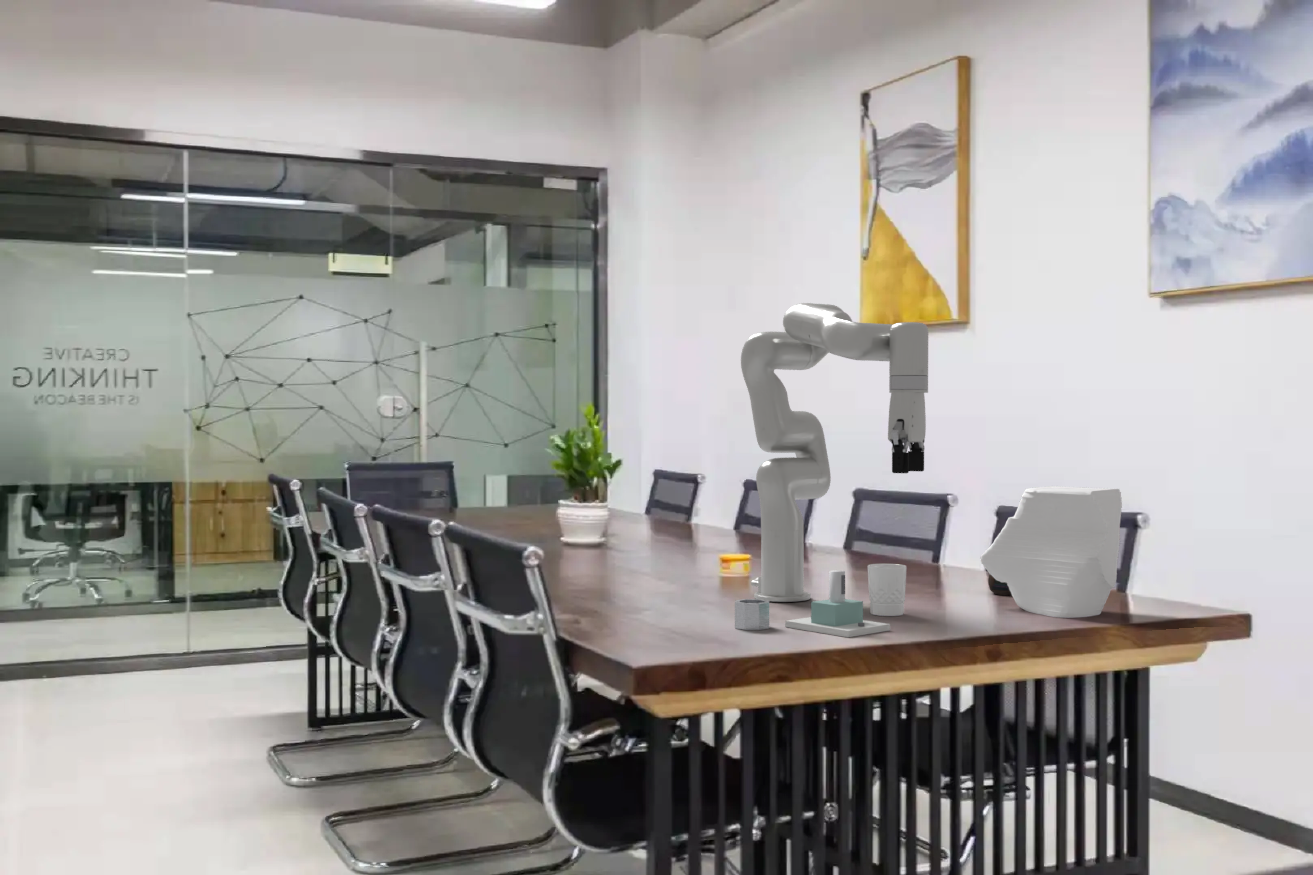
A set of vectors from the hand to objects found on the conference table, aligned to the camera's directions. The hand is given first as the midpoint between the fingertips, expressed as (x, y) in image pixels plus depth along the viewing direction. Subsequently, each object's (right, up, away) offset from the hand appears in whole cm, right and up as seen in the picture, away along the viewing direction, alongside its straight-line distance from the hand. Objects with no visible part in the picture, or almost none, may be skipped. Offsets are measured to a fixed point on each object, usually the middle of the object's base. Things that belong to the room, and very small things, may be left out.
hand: (908, 472), depth 252 cm
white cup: (-2, -30, +11) cm, 32 cm away
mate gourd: (+30, -29, +41) cm, 59 cm away
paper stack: (+35, -30, +17) cm, 49 cm away
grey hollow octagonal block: (-31, -30, -5) cm, 44 cm away
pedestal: (-15, -30, -7) cm, 34 cm away
